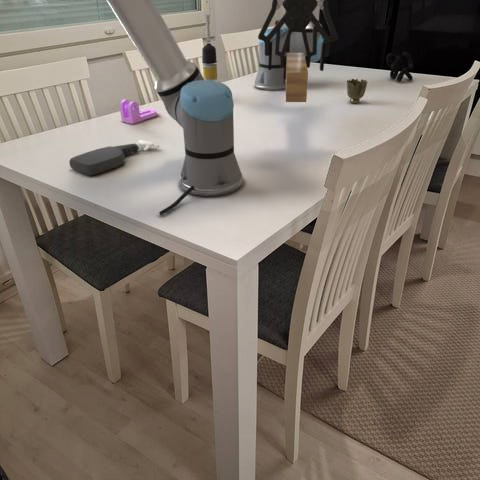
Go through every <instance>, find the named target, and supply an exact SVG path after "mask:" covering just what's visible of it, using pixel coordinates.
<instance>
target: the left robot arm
mask: <svg viewBox="0 0 480 480" xmlns="http://www.w3.org/2000/svg"><path fill="white" fill-rule="evenodd" d="M106 1H107V4H108V5H109V6H110V9H112V11H113V13H114V15H115V16H116V18H117V19H118V21H119V22H120V24H121V26H122V27H123V29H124V31H125V32H126V34H127V36H128V37H129V38H130V40H131V42H132V43H133V45H134V46H135V48H136V50H137V51H138V53H139V55H140V56H141V57H142V59H143V61H144V62H145V64H146V65H147V67H148V69H149V70H150V71H151V74H152V75H153V77H154V78H155V85H154V90H155V92H156V93H157V95H158V96H159V99H161V101H162V102H163V105H164V108H165V110H166V112H167V114H168V115H169V116H170V117H171V118H172V119H173V121H175V122H176V123H177V124H178V125H179V126H180V127H181V128H182V131H183V143H184V154H185V155H184V158H183V164H182V168H181V171H180V176H179V183H180V184H179V185H180V188H181V189H182V191H184V192H183V193H182V194H181V195H180V196H179V197H178V198H177V199H176V200H175V201H174V202H173V203H172V204H170V205H168V206H167V207H165V208H163V209H162V210H159V212H158V214H159V215H160V216H163V215H164V214H166V213H168V212H169V211H171V210H173V209H174V208H175V207H177V206H178V205H179V204H180V203H181V202H182V201H183V200H184V199H185V198H186V197H187V196H188V195H194V196H199V197H221V196H224V195H229V194H232V193H234V192H235V191H237V190H239V189H240V188H241V187H242V185H243V174H242V171H241V168H240V165H239V163H238V160H237V157H236V154H235V132H234V131H235V130H234V127H235V126H234V109H235V108H234V106H235V103H234V99H233V98H234V97H233V93H232V90H231V88H230V87H229V86H228V85H226V84H225V83H223V82H220V81H216V80H212V81H211V80H204V75H203V74H202V73H201V71H200V69H199V67H198V66H197V64H196V63H195V62H193V61H189V60H187V59H186V57H185V55H184V54H183V52H182V50H181V48H180V47H179V44H178V42H177V41H176V39H175V38H174V36H173V34H172V32H171V30H170V29H169V27H168V25H167V24H166V21H165V20H164V18H163V16H162V14H161V12H160V11H159V9H158V6H157V5H156V3H155V2H154V0H106ZM271 1H272V2H271V7H270V11H269V12H268V14H267V16H266V19H265V21H264V23H263V25H262V26H261V29H260V31H259V33H258V35H257V38H258V40H262V41H264V42H265V56H269V68H268V70H271V64H272V42H270V40H271V39H272V38H273V36H274V35H275V34H276V33H277V32H278V30H279V29H280V28H281V27H284V25H285V22H286V21H287V20H288V19H289V17H290V18H291V19H293V20H297V19H301V20H305V19H307V18H310V19H311V21H312V22H313V24H314V25H315V27H316V28H317V30H318V31H319V33H320V34H321V36H322V37H323V38H324V42H322V48H321V57H320V59H319V71H320V72H324V69H325V68H324V67H325V58H328V57H330V51H331V44H332V43H333V42H337V41H338V40H339V36H338V33H337V30H336V27H335V25H334V22H333V19H332V16H331V13H330V10H329V0H320V1H317V0H271ZM281 6H282V7H283V9H284V11H285V10H286V13H285V12H284V13H283V15H282V16H281V18H280V19H278V20H279V22H278V23H277V24H276V25H275V24H274V26H273V27H272V28H273V29H272V30H271V31H270V33H269V34H268V35H267V36H265V35H264V34H265V32H266V30H267V29H269V26H270V24H271V22H272V19H273V18H274V16H275V14H276V11H277V10H279V9H280V8H281ZM317 6H319V7H320V9H319V10H321V11H322V13H323V16H324V19H325V22H326V24H327V28H328V30H329V32H330V36H329V35H328V34H327V32H326V30H325V29H324V28H323V25H322V24H321V22H320V21H319V22H318V20H317V19H316V17H315V16H314V14H313V13H312V12H313V11H314V9H315V8H316V7H317ZM320 24H321V25H322V26H321V25H320Z"/></svg>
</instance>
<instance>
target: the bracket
mask: <svg viewBox="0 0 480 480" xmlns="http://www.w3.org/2000/svg"><path fill="white" fill-rule="evenodd" d="M118 107H119V113H120V118H121V122H122V123H123V122H124V123H127V124H131V125H134V124H137V123H140V122H143V121H146V120H149V119H152V118H154V117H157V116H158V111H157V110H156V109H152V108H151V109H149V108H148V109H142V110H140V104H139V103H138V102H137V101H132V100H131V101H129V100H128V99H121V101H119V106H118Z"/></svg>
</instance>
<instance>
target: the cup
mask: <svg viewBox="0 0 480 480" xmlns="http://www.w3.org/2000/svg"><path fill="white" fill-rule="evenodd" d="M367 85H368V81H367V79H363V78H362V79H361V80H358V78H356V79H354V78H352V79H347V80H346V93H347V94H346V95H347V97H348V98H350V99H349V101H350V103H352V104H359V103H360V102H361V99H362V98H363V97H364V96H365V94H366V89H367Z"/></svg>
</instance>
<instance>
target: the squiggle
mask: <svg viewBox="0 0 480 480" xmlns="http://www.w3.org/2000/svg"><path fill="white" fill-rule="evenodd" d="M401 57H402V59H401ZM391 59H392V60H391ZM393 60H394V61H393ZM385 61H386V64H387V67H390V68H391V70H390V72H389V78H390V79H391V80H395V79H396V81H397V82H399V83H400V82H402V81H403V79H404V76H406V78H407V80H408V81H412V80H413V79H414V77H413V75H412V74H411V73H410V72H409V71H410V70H412V69H413V68H414V64H413V61H412V57H411V54H410V53H409V52H408V51H403V53H402V54H401V55H396V54H394V53H392V52H390V53H387V55H386V57H385ZM406 62H407V65H408V66H407V67H405V66H404V65H405V64H406ZM400 70H401V71H400Z"/></svg>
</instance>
